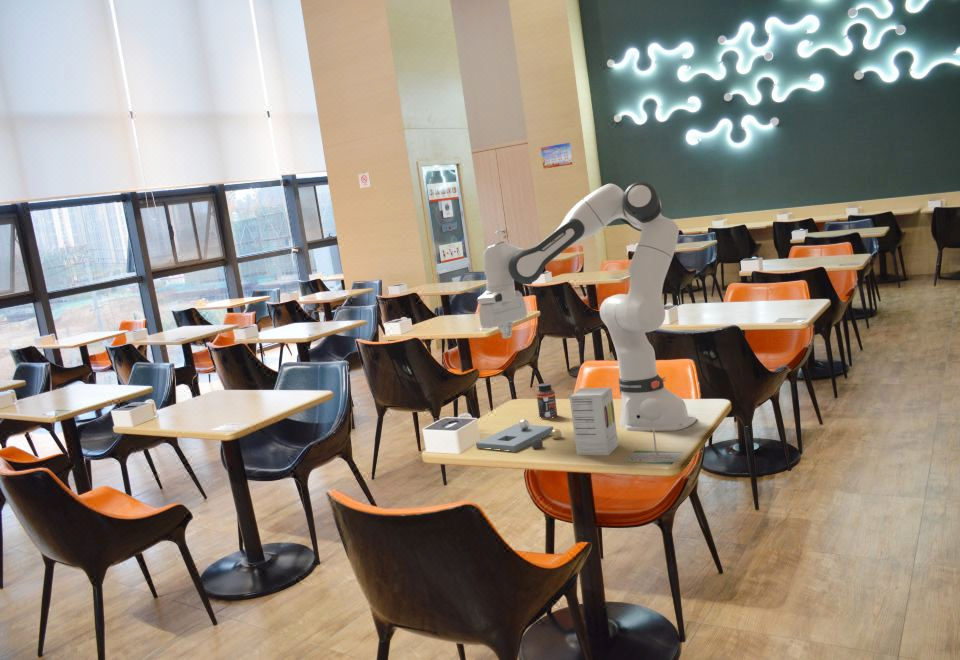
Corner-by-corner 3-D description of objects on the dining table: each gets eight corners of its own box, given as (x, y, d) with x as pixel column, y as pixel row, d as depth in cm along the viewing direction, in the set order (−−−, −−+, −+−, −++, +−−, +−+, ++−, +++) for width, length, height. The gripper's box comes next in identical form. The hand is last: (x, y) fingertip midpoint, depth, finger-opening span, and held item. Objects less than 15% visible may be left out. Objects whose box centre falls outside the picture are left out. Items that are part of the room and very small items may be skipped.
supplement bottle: (552, 420, 257) (548, 386, 256) (536, 420, 260) (532, 386, 259) (560, 415, 262) (556, 382, 261) (544, 415, 265) (540, 382, 264)
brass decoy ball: (564, 438, 235) (563, 427, 234) (558, 441, 232) (557, 430, 232) (555, 437, 237) (554, 427, 236) (549, 440, 234) (548, 430, 234)
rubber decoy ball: (545, 448, 227) (544, 437, 227) (539, 451, 224) (537, 440, 224) (536, 447, 229) (534, 436, 229) (530, 451, 227) (528, 440, 226)
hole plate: (516, 431, 249) (515, 424, 249) (554, 434, 240) (553, 426, 240) (477, 451, 234) (475, 442, 234) (515, 454, 225) (514, 446, 225)
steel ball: (532, 428, 241) (530, 418, 240) (525, 431, 238) (524, 421, 238) (523, 428, 243) (522, 417, 242) (517, 431, 240) (515, 420, 240)
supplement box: (609, 456, 211) (601, 395, 209) (576, 456, 215) (568, 395, 213) (619, 445, 220) (612, 386, 218) (587, 445, 224) (580, 387, 222)
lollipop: (640, 457, 207) (634, 401, 205) (649, 450, 212) (643, 395, 210) (663, 458, 203) (657, 401, 202) (671, 451, 208) (665, 395, 206)
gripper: (513, 290, 260) (518, 331, 262) (473, 299, 244) (479, 343, 246) (528, 288, 256) (534, 331, 258) (489, 298, 240) (495, 343, 242)
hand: (507, 337), depth 252 cm, fingers closed
